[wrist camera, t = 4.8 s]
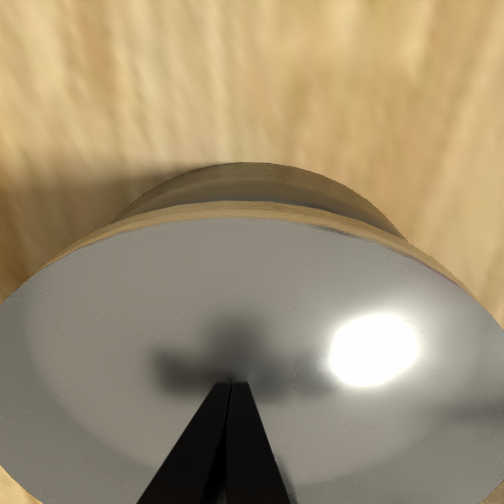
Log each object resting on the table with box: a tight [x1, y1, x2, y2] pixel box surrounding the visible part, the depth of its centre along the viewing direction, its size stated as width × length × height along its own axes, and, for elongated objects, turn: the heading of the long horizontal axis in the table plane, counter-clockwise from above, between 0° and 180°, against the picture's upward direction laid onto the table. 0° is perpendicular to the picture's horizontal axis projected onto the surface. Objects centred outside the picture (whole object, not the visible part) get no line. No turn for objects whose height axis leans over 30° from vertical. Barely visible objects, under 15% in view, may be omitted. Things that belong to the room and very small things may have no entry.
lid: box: [0, 201, 504, 504], centre depth 10 cm, size 16×16×3 cm
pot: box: [109, 162, 408, 242], centre depth 15 cm, size 18×23×5 cm
